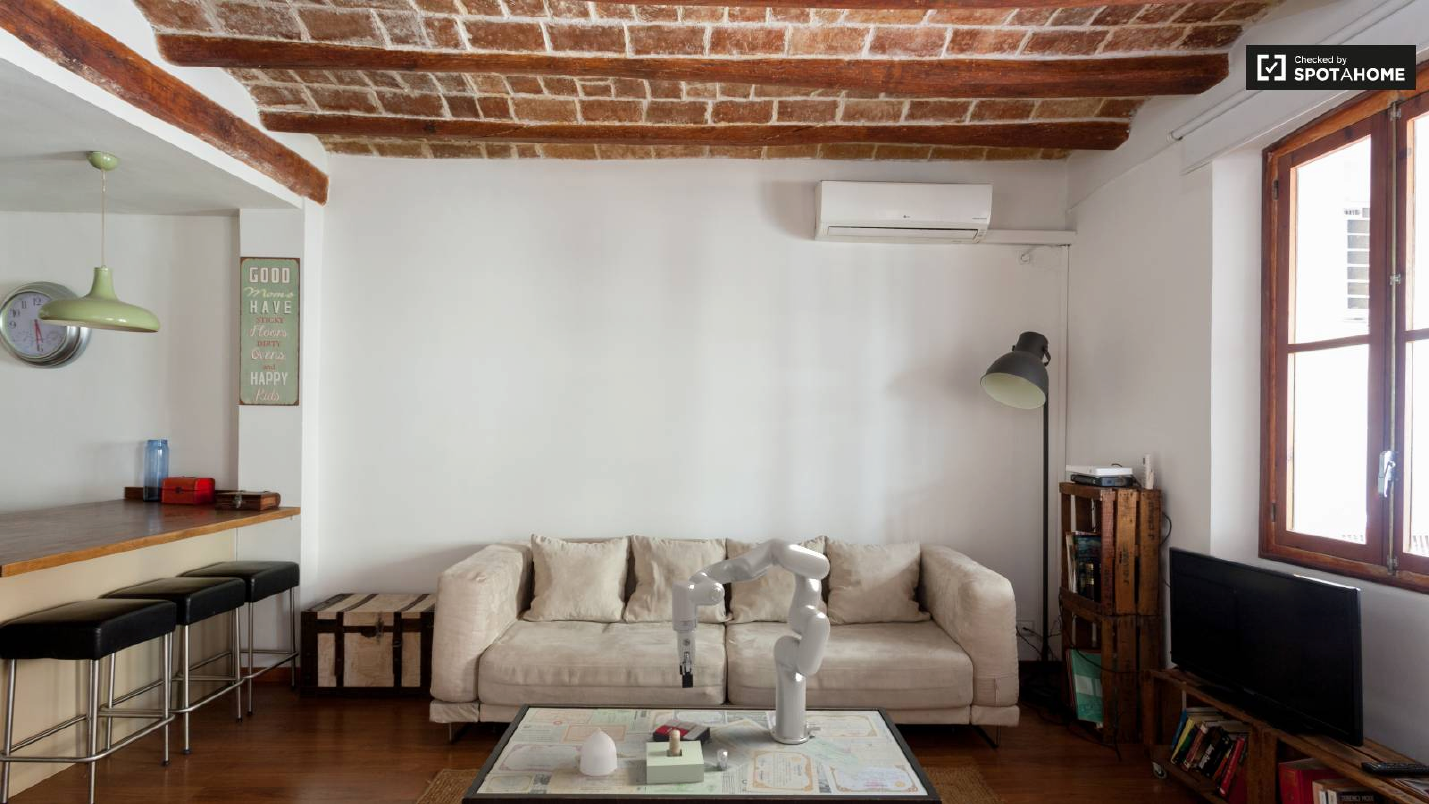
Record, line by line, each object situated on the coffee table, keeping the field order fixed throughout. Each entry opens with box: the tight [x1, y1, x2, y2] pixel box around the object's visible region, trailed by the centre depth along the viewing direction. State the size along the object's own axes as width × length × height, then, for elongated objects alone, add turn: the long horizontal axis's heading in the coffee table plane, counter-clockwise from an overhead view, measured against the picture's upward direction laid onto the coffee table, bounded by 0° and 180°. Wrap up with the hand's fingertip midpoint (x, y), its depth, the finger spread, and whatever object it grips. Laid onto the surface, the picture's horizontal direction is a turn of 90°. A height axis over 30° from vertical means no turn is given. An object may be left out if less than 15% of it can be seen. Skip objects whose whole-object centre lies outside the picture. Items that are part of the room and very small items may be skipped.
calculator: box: [652, 718, 711, 746], centre depth 232 cm, size 11×4×15 cm
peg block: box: [646, 741, 705, 785], centre depth 212 cm, size 16×14×5 cm
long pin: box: [669, 730, 680, 757], centre depth 212 cm, size 3×3×11 cm
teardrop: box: [579, 726, 618, 777], centre depth 214 cm, size 11×11×12 cm
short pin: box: [716, 748, 729, 772], centre depth 213 cm, size 3×3×5 cm
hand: (686, 680), depth 218 cm, fingers open, 9 cm apart
